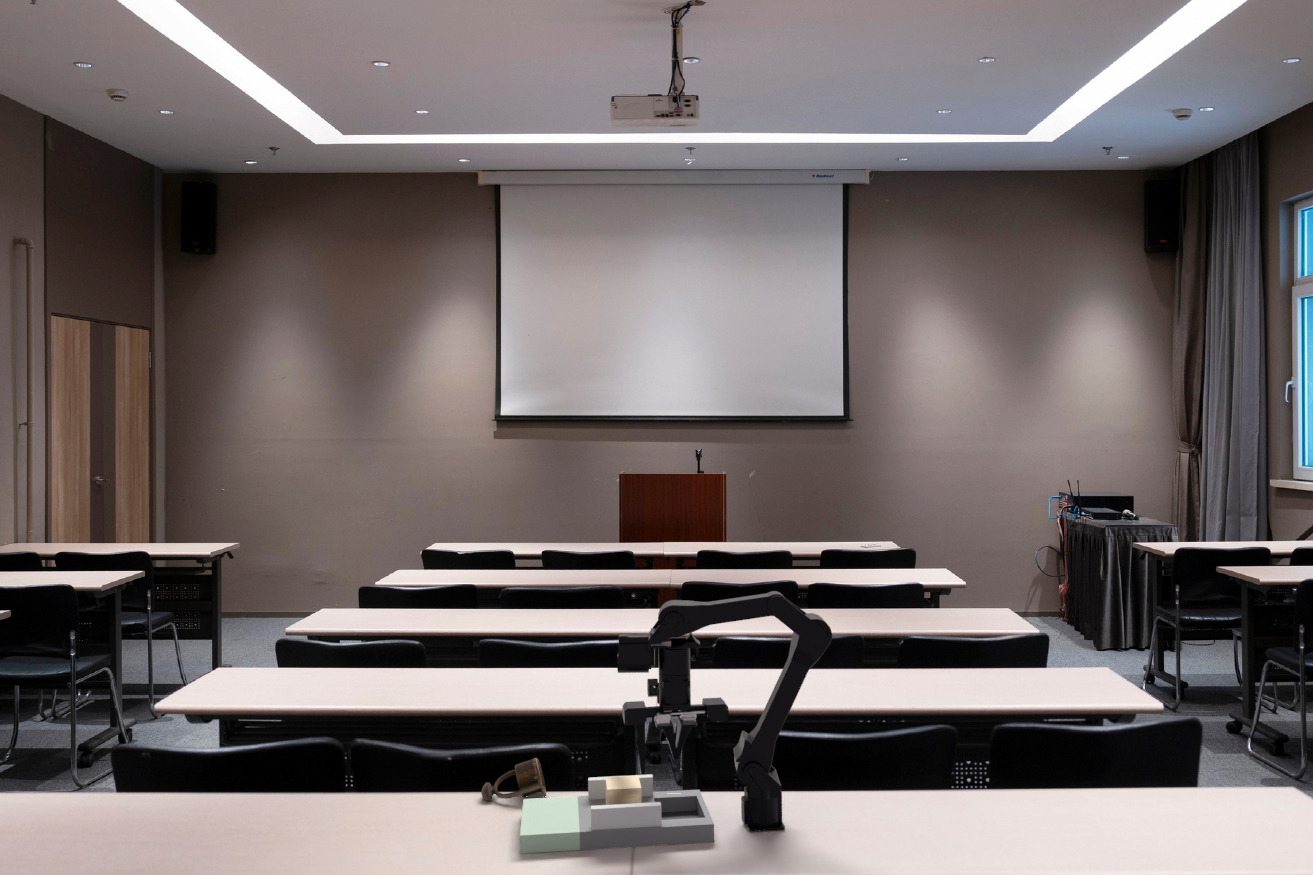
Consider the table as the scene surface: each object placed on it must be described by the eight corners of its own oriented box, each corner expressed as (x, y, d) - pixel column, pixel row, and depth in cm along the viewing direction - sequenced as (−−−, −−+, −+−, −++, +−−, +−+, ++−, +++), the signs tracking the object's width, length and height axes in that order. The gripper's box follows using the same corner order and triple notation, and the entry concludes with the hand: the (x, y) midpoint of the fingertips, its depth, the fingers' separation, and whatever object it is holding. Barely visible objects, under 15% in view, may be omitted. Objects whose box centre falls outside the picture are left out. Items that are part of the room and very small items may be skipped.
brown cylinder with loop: (540, 780, 168) (555, 752, 178) (476, 771, 170) (494, 743, 180) (539, 814, 170) (555, 784, 179) (476, 804, 172) (494, 775, 182)
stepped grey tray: (699, 805, 169) (699, 770, 169) (714, 841, 153) (713, 803, 153) (523, 815, 165) (523, 779, 165) (519, 853, 149) (519, 814, 150)
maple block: (638, 803, 163) (638, 775, 163) (641, 816, 157) (641, 787, 157) (605, 804, 162) (605, 777, 162) (607, 818, 156) (607, 789, 156)
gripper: (717, 659, 170) (718, 742, 170) (619, 663, 168) (620, 747, 168) (728, 674, 159) (730, 762, 159) (624, 678, 157) (625, 767, 157)
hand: (675, 759), depth 161 cm, fingers closed
